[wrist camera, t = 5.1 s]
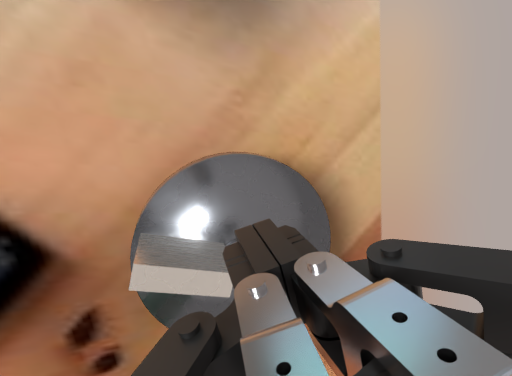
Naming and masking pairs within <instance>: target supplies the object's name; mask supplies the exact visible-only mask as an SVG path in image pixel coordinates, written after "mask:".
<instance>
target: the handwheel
mask: <svg viewBox="0 0 512 376" xmlns="http://www.w3.org/2000/svg"><path fill="white" fill-rule="evenodd" d="M268 218H269V219H270V220H271V221H272V222H273V223H274V224H275V225H276V226H277V227H281V226H284V225H287V226H290V227H293V228H295V229H296V230H297V231H299V232H300V234H301V235H303V236H304V237H305V239H307V240H308V241H309V242H310V243H311V244H312V245H313V246H314V247H315V248H316V249H317V250H318V251H319V252H320V251H321V252H329V251H330V226H329V220H328V216H327V213H326V209H325V207H324V205H323V203H322V201H321V199H320V197H319V195H318V194H317V192H316V191H315V189H314V188H313V187H312V186H311V185H310V183H309V182H308V181H307V180H306V179H305V178H304V177H302V176H301V175H300V174H299V173H298V172H296V171H295V170H293V169H292V168H290V167H288V166H287V165H285V164H283V163H281V162H278V161H276V160H274V159H272V158H270V157H266V156H263V155H259V154H254V153H248V152H227V153H218V154H214V155H210V156H206V157H203V158H201V159H198V160H196V161H193V162H191V163H189V164H187V165H186V166H184V167H182V168H180V169H179V170H177V171H176V172H175V173H173V174H172V175H171V176H169V177H168V178H167V179H166V180H165V181H164V182H163V183H162V184H161V185H160V186H159V187H158V188H157V189H156V190H155V192H154V193H153V194H152V195H151V197H150V198H149V200H148V201H147V203H146V205H145V206H144V208H143V210H142V212H141V215H140V217H139V219H138V222H137V225H136V228H135V232H134V236H133V240H132V246H131V256H130V258H131V272H132V274H131V280H130V285H129V290H130V291H137V292H138V295H139V296H140V298H141V300H142V302H143V303H144V305H145V306H146V308H147V309H148V310H149V311H150V313H151V314H152V315H153V316H154V317H155V318H156V319H157V320H158V321H160V322H161V323H162V324H163V325H165V326H166V327H168V328H170V327H171V326H172V325H173V324H174V323H175V322H176V321H177V320H179V319H180V318H182V317H184V316H186V315H188V314H191V313H194V312H208V313H210V314H212V315H213V316H214V317H216V316H217V315H219V314H220V313H222V312H223V311H224V310H226V309H227V308H228V307H229V306H230V304H231V303H232V301H233V299H234V289H233V286H232V283H231V280H230V277H229V273H228V270H227V267H226V264H225V261H224V258H223V255H222V254H223V251H224V249H225V246H228V245H231V244H234V243H236V242H237V240H236V237H235V234H234V230H237V229H240V228H243V227H246V226H249V225H252V224H254V223H257V222H260V221H263V220H266V219H268Z"/></svg>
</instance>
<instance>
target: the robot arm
mask: <svg viewBox="0 0 512 376" xmlns="http://www.w3.org/2000/svg"><path fill="white" fill-rule="evenodd" d="M234 234H235V237H236V240H237V242H236V243H234V244H231V245H228V246H225V249H224V251H223V254H222V255H223V258H224V261H225V264H226V267H227V270H228V273H229V277H230V280H231V283H232V286H233V289H234V299H233V301H232V303H231V304H230V306H229V307H228V308H227V309H226V310H224V311H223V312H222V313H220V314H219V315H217V316H216V317H214V316H213V315H212V314H210V313H208V312H194V313H191V314H188V315H186V316H184V317H182V318H180V319H179V320H177V321H176V322H175V323H174V324H173V325H172V326H171V327H170V328H169V329H168V330H167V332H166V333H165V334H164V335H163V337H162V338H161V339H160V340H159V342H158V343H157V344H156V345H155V347H154V348H153V349H152V350H151V351H150V353H149V354H148V355H147V356H146V358H145V359H144V360H143V361H142V363H141V364H140V365H139V366H138V368H137V369H136V370H135V371H134V372H133V374H132V375H131V376H329V375H328V373H327V371H326V369H325V367H324V365H323V362H322V360H321V358H320V356H319V354H318V352H317V350H316V348H317V349H318V351H319V352H320V353H321V355H322V356H323V358H324V359H325V360H326V362H327V363H328V364H329V366H330V367H331V369H332V370H333V371H334V373H335V374H336V375H337V376H512V251H510V250H499V249H489V248H479V247H469V246H459V245H449V244H439V243H428V242H418V241H408V240H398V239H388V240H381V241H378V242H376V243H373V244H372V245H370V246H369V247H368V249H367V259H363V260H357V261H351V262H344V261H343V260H341V259H340V258H339V257H337V256H336V255H334V254H332V253H329V252H321V251H320V252H319V251H318V250H317V249H316V248H315V247H314V246H313V245H312V244H311V243H310V242H309V241H308V240H307V239H305V237H304V236H303V235H301V234H300V232H299V231H297V230H296V229H295V228H293V227H290V226H287V225H284V226H281V227H277V226H276V225H275V224H274V223H273V222H272V221H271V220H270V219H269V218H268V219H266V220H263V221H260V222H257V223H254V224H252V225H249V226H246V227H243V228H240V229H237V230H234ZM422 287H426V288H431V289H437V290H442V291H448V292H454V293H459V294H464V295H468V296H471V297H473V298H475V299H476V300H478V301H479V302H480V303H481V305H482V307H483V312H482V313H470V312H466V311H461V310H456V309H451V308H446V307H442V306H437V305H432V304H428V303H427V302H425V301H424V300H423V296H422ZM305 323H306V324H307V326H308V327H309V331H310V335H311V338H310V336H309V333H308V331H307V329H306V327H305V325H304V324H305ZM311 339H312V340H311ZM314 345H315V346H316V348H315V346H314Z"/></svg>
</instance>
